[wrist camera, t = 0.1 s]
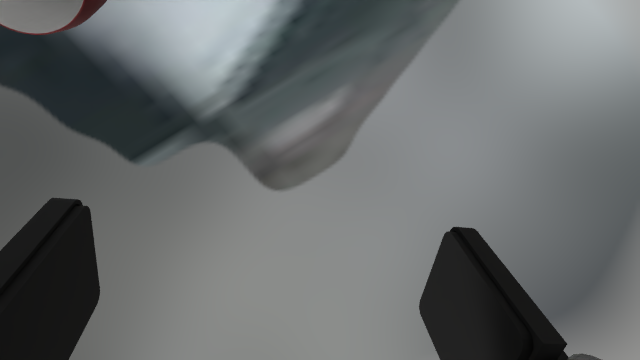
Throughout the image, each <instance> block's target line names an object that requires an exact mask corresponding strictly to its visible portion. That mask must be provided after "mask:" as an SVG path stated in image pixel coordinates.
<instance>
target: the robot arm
mask: <svg viewBox="0 0 640 360" xmlns="http://www.w3.org/2000/svg"><path fill="white" fill-rule="evenodd" d="M99 295H100V286H99V278H98V270H97V262H96V254H95V247H94V237H93V229H92V221H91V213H90V209H89V207H88V206H83V205H82V202H81V201H80V200H77V199H62V198H51V199H50V200H49V201H48V202H47V203H46V204H45V205H44V206H43V207H42V208H41V209H40V210H39V211H38V212H37V213H36V214H35V215H34V216H33V218H32V219H30V221H29V222H28V223H27V224H26V225H25V226H24V227H23V228H22V229H21V230H20V231H19V232H18V233H17V234H16V235H15V236H14V237H13V238H12V239H11V240H10V241H9V242H8V243H7V245H6V246H5V247H4V248H3V249H2V250H1V251H0V360H69V357H70V356H71V354H72V352H73V350H74V348H75V346H76V344H77V342H78V340H79V338H80V336H81V335H82V333H83V331H84V329H85V327H86V325H87V323H88V321H89V319H90V317H91V315H92V313H93V311H94V309H95V307H96V305H97V303H98V300H99ZM419 309H420V314H421V317H422V319H423V321H424V323H425V326H426V328H427V330H428V333H429V335H430V337H431V339H432V342H433V344H434V346H435V349H436V351H437V353H438V355H439V358H440V360H601V359H599V358H597V357H594V356H591V355H586V354H573V355H572V356H570V357H568V356H567V355H566V353H565V352H564V351H563V350H564V348H565V347H566V345H567V343H566V342H565V341H564V339H563V338H562V337H561V336H560V334H559V333H558V332H557V331H556V329H555V328H554V327H553V326H552V324H551V323H550V322H549V321H548V319H547V318H546V317H545V315H544V314H543V313H542V312H541V311H540V309H539V308H538V307H537V305H536V304H535V303H534V302H533V301H532V299H531V298H530V297H529V295H528V294H527V293H526V292H525V290H524V289H523V288H522V287H521V285H520V284H519V283H518V282H517V280H516V279H515V278H514V277H513V275H512V274H511V273H510V272H509V270H508V269H507V268H506V267H505V265H504V264H503V263H502V262H501V260H500V259H499V258H498V257H497V255H496V254H495V253H494V252H493V250H492V249H491V248H490V247H489V246H488V244H487V243H486V242H485V240H483V238H482V237H481V235H480V234H479V233H478V232H477V231H476V230H475V229H473V228H462V227H453V228H452V229H451V230H450V232H446V233H445V234H444V237H443V239H442V242H441V245H440V248H439V250H438V253H437V256H436V259H435V261H434V264H433V267H432V269H431V272H430V275H429V278H428V280H427V283H426V286H425V289H424V292H423V294H422V297H421V300H420V305H419Z"/></svg>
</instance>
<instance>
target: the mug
mask: <svg viewBox="0 0 640 360" xmlns="http://www.w3.org/2000/svg"><path fill="white" fill-rule="evenodd" d="M106 1H107V0H0V25H1V26H3V27H6V28H8V29H10V30H13V31H17V32H20V33H25V34H33V35H44V34H51V33H56V32H60V31H64V30H68V29H71V28H73V27H76V26H78V25H80V24H82V23H83V22H85V21H86V20H87V19H89V18H90V17H91V16H92V15H93V14H94V13H95V12H96V11H97V10H98V9H99V8H100V7H101V6H102V5H103V4H104V3H105V2H106Z"/></svg>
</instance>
